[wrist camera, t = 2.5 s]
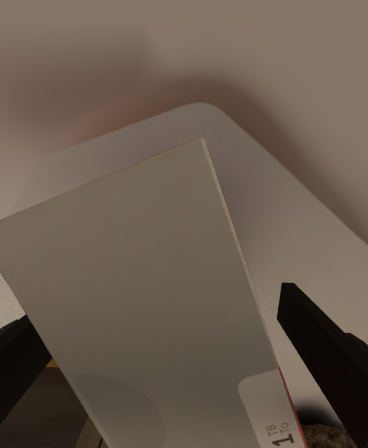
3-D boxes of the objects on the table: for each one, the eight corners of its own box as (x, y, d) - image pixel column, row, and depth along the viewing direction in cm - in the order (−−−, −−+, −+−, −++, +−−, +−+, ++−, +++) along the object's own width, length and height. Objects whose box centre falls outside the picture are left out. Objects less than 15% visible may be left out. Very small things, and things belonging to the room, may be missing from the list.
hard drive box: (231, 276, 27) (333, 522, 8) (181, 291, 28) (158, 548, 8) (194, 170, 24) (205, 130, 4) (139, 192, 25) (-49, 236, 5)
